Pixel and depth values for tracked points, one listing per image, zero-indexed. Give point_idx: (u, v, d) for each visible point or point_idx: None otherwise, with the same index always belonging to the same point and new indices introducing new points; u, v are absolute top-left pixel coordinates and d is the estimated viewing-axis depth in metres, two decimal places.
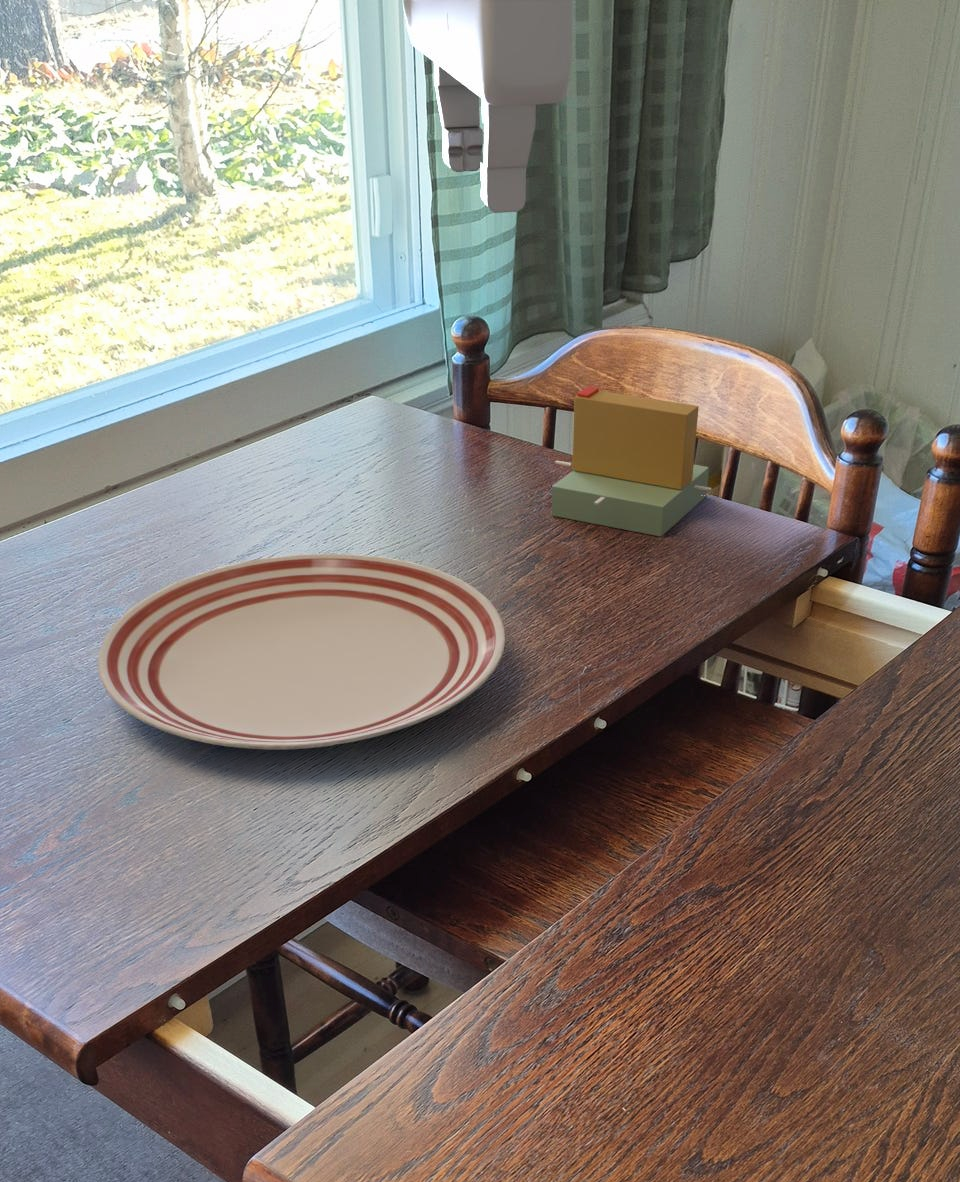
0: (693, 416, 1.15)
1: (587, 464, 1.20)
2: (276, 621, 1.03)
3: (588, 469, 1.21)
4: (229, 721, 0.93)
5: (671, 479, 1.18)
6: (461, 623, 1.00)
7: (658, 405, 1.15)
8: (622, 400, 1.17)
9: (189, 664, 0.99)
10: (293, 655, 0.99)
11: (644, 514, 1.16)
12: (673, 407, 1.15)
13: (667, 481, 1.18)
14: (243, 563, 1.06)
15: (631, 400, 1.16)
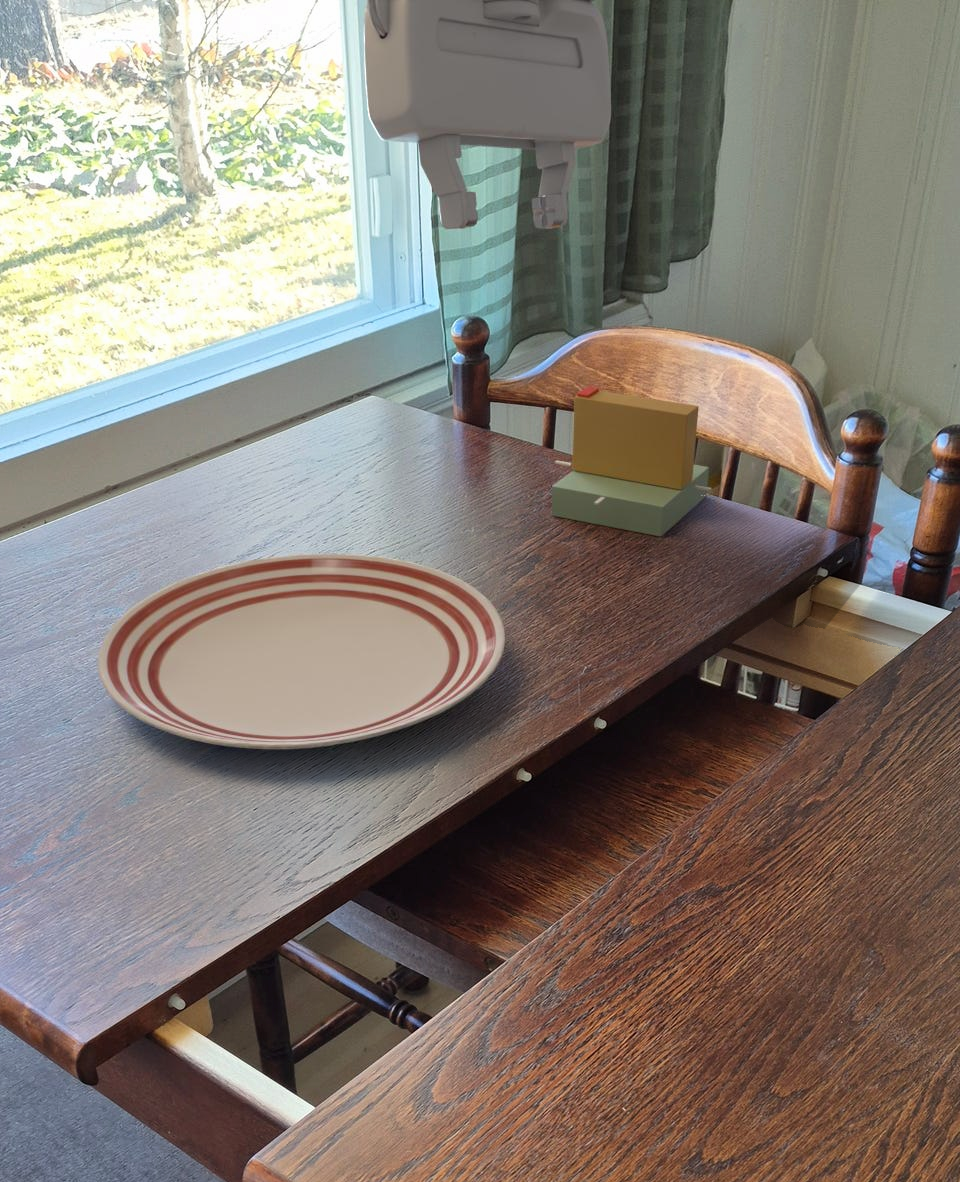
0: (693, 416, 1.15)
1: (587, 464, 1.20)
2: (276, 621, 1.03)
3: (588, 469, 1.21)
4: (229, 721, 0.93)
5: (671, 479, 1.18)
6: (461, 623, 1.00)
7: (658, 405, 1.15)
8: (622, 400, 1.17)
9: (189, 664, 0.98)
10: (293, 655, 0.99)
11: (644, 514, 1.16)
12: (673, 407, 1.15)
13: (667, 481, 1.18)
14: (243, 563, 1.06)
15: (631, 400, 1.16)
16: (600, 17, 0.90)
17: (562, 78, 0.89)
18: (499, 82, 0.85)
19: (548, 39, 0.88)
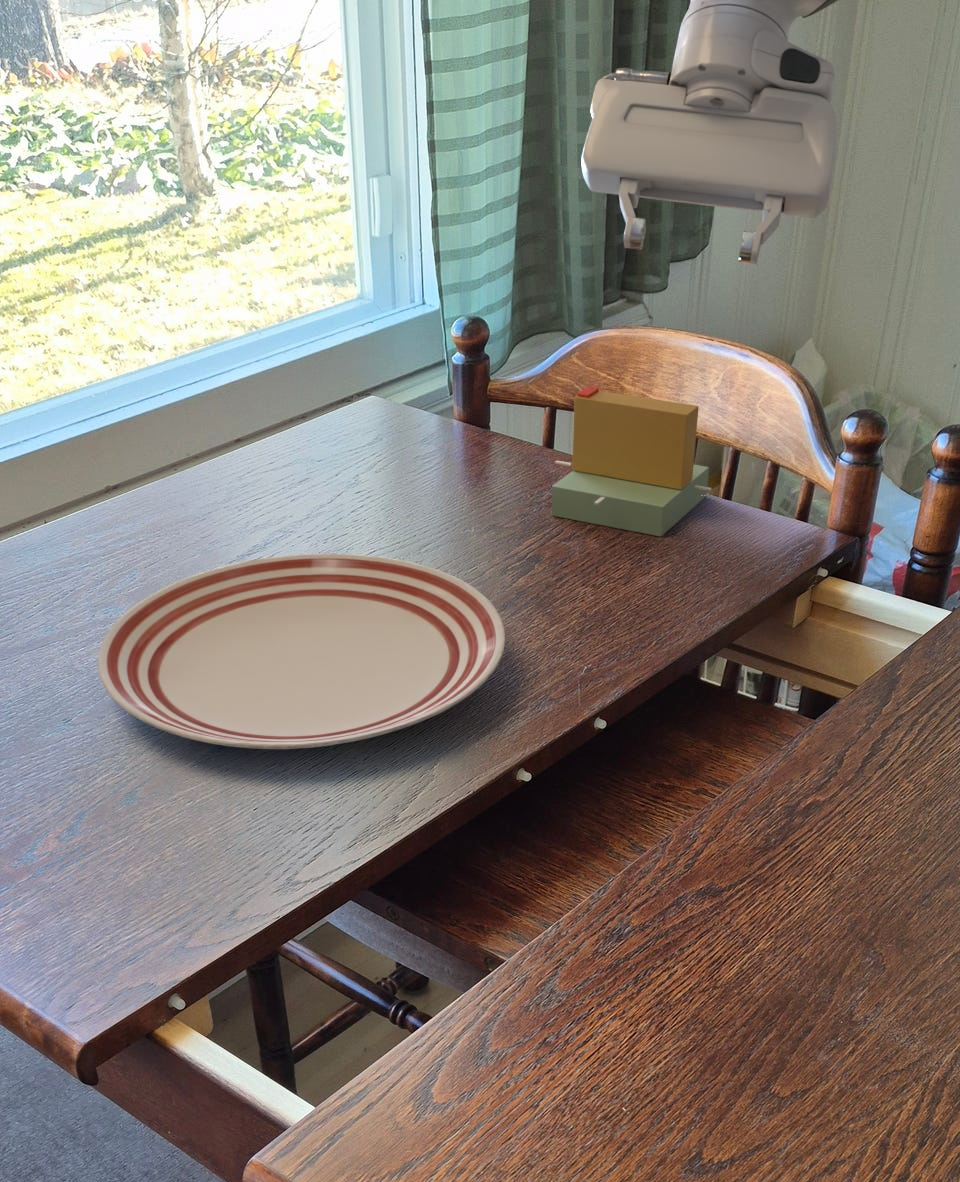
0: (693, 416, 1.15)
1: (587, 464, 1.20)
2: (276, 621, 1.03)
3: (588, 469, 1.21)
4: (229, 721, 0.93)
5: (671, 479, 1.18)
6: (461, 623, 1.00)
7: (658, 405, 1.15)
8: (622, 400, 1.17)
9: (189, 664, 0.98)
10: (293, 655, 0.99)
11: (644, 514, 1.16)
12: (673, 407, 1.15)
13: (667, 481, 1.18)
14: (243, 563, 1.06)
15: (631, 400, 1.16)
16: (825, 104, 1.12)
17: (770, 147, 1.13)
18: (685, 145, 1.14)
19: (765, 122, 1.13)
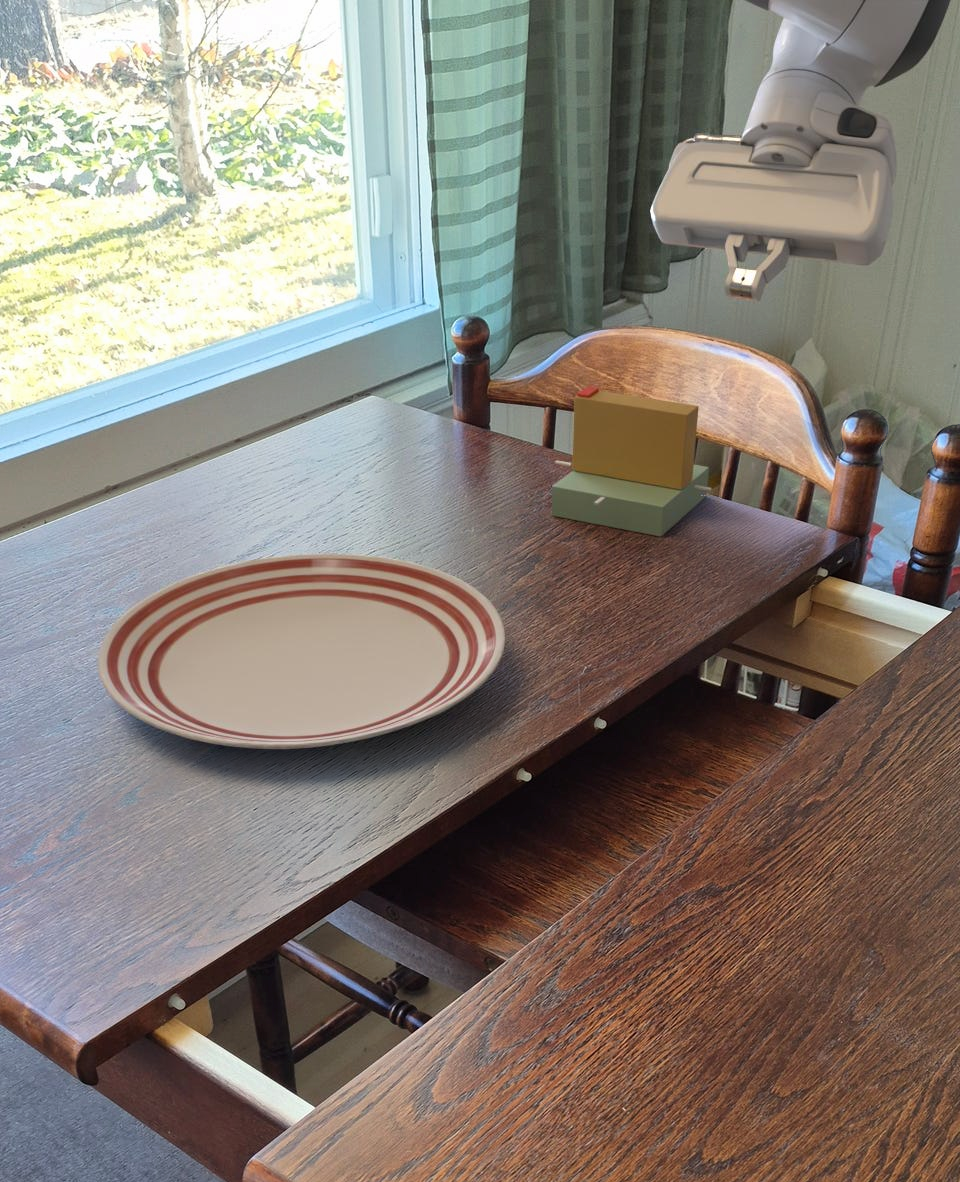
0: (693, 416, 1.15)
1: (587, 464, 1.20)
2: (276, 621, 1.03)
3: (588, 469, 1.21)
4: (229, 720, 0.93)
5: (671, 479, 1.18)
6: (461, 623, 1.00)
7: (658, 405, 1.15)
8: (622, 400, 1.17)
9: (189, 664, 0.98)
10: (293, 655, 0.99)
11: (644, 514, 1.16)
12: (673, 407, 1.15)
13: (667, 481, 1.18)
14: (243, 563, 1.06)
15: (631, 400, 1.16)
16: (879, 157, 1.16)
17: (823, 198, 1.18)
18: (745, 197, 1.20)
19: (822, 176, 1.18)
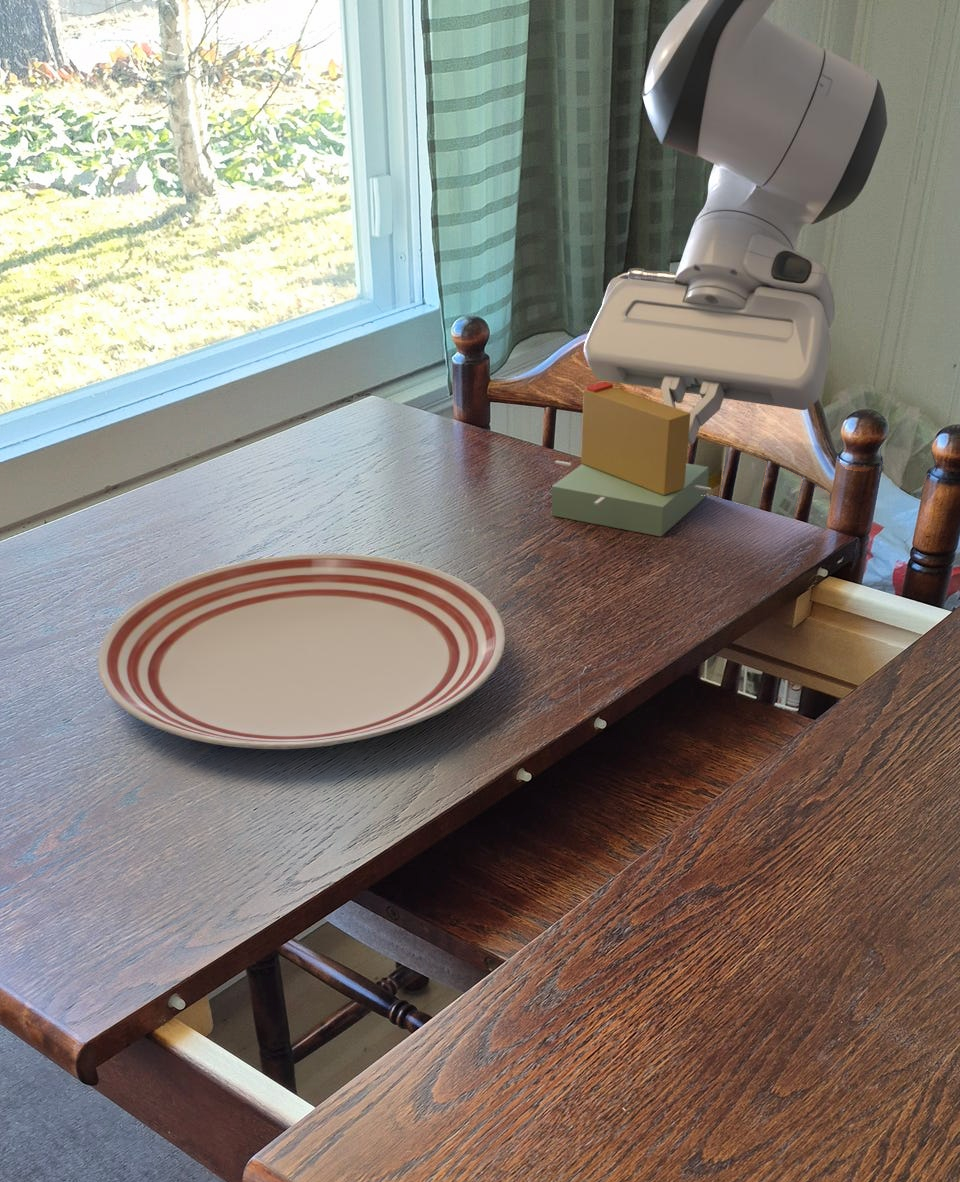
0: (681, 422, 1.14)
1: (592, 458, 1.21)
2: (276, 621, 1.03)
3: (593, 463, 1.21)
4: (229, 720, 0.93)
5: (656, 483, 1.17)
6: (461, 623, 1.00)
7: (651, 408, 1.15)
8: (624, 398, 1.17)
9: (189, 664, 0.98)
10: (293, 655, 0.99)
11: (644, 514, 1.16)
12: (664, 411, 1.14)
13: (653, 485, 1.17)
14: (243, 563, 1.06)
15: (633, 399, 1.17)
16: (815, 303, 1.12)
17: (758, 342, 1.14)
18: (679, 339, 1.17)
19: (757, 319, 1.15)
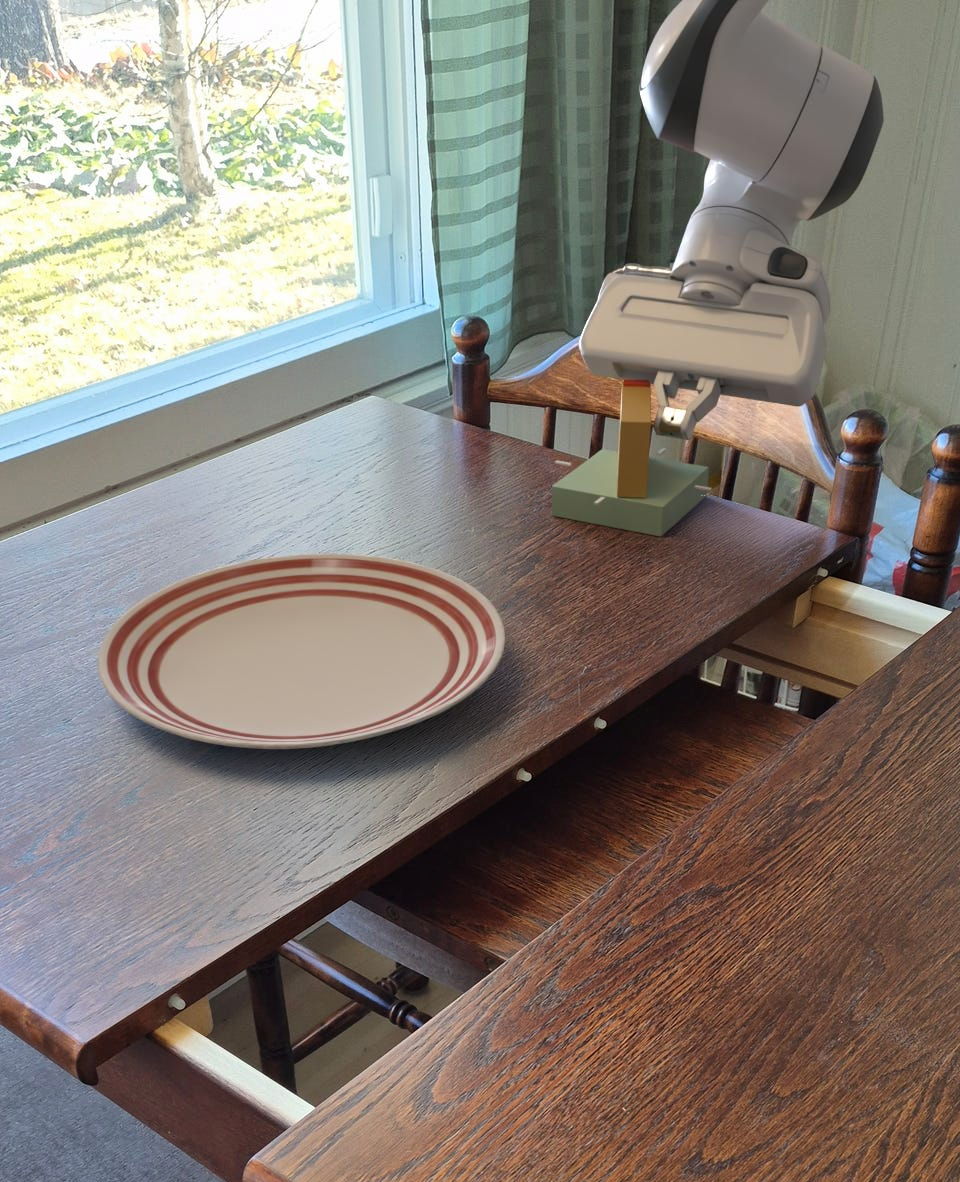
0: (637, 428, 1.13)
1: None
2: (276, 620, 1.03)
3: None
4: (229, 720, 0.93)
5: None
6: (461, 623, 1.00)
7: (632, 409, 1.15)
8: (632, 396, 1.17)
9: (189, 664, 0.98)
10: (293, 655, 0.99)
11: (644, 514, 1.16)
12: (634, 414, 1.14)
13: None
14: (243, 563, 1.06)
15: (636, 399, 1.17)
16: (810, 299, 1.12)
17: (754, 338, 1.14)
18: (675, 335, 1.17)
19: (753, 315, 1.15)
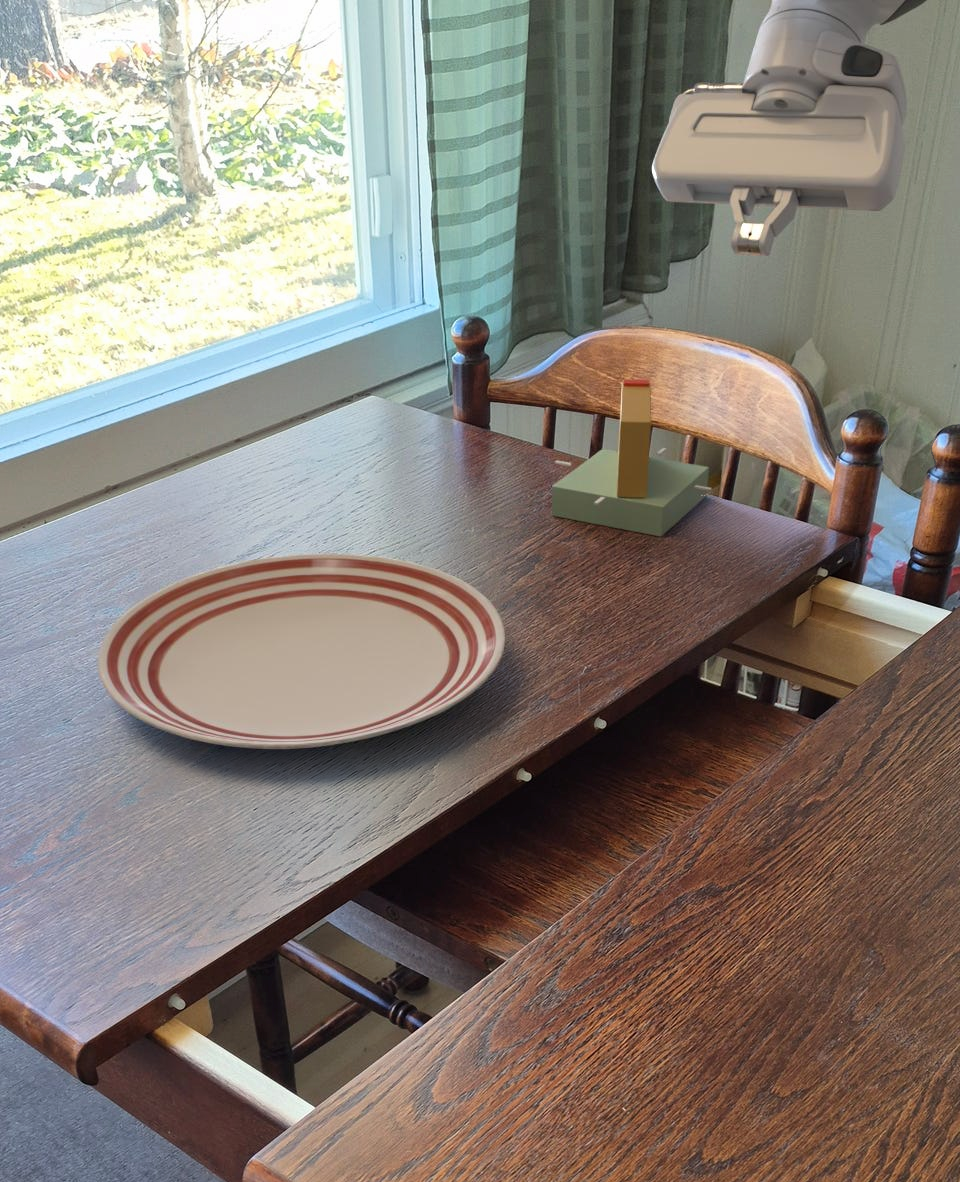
0: (637, 428, 1.13)
1: None
2: (276, 621, 1.03)
3: None
4: (229, 720, 0.93)
5: None
6: (461, 623, 1.00)
7: (632, 409, 1.15)
8: (632, 396, 1.17)
9: (189, 664, 0.98)
10: (293, 655, 0.99)
11: (644, 514, 1.16)
12: (634, 414, 1.14)
13: None
14: (243, 563, 1.06)
15: (636, 399, 1.17)
16: (887, 96, 1.11)
17: (830, 143, 1.13)
18: (749, 148, 1.16)
19: (828, 120, 1.14)
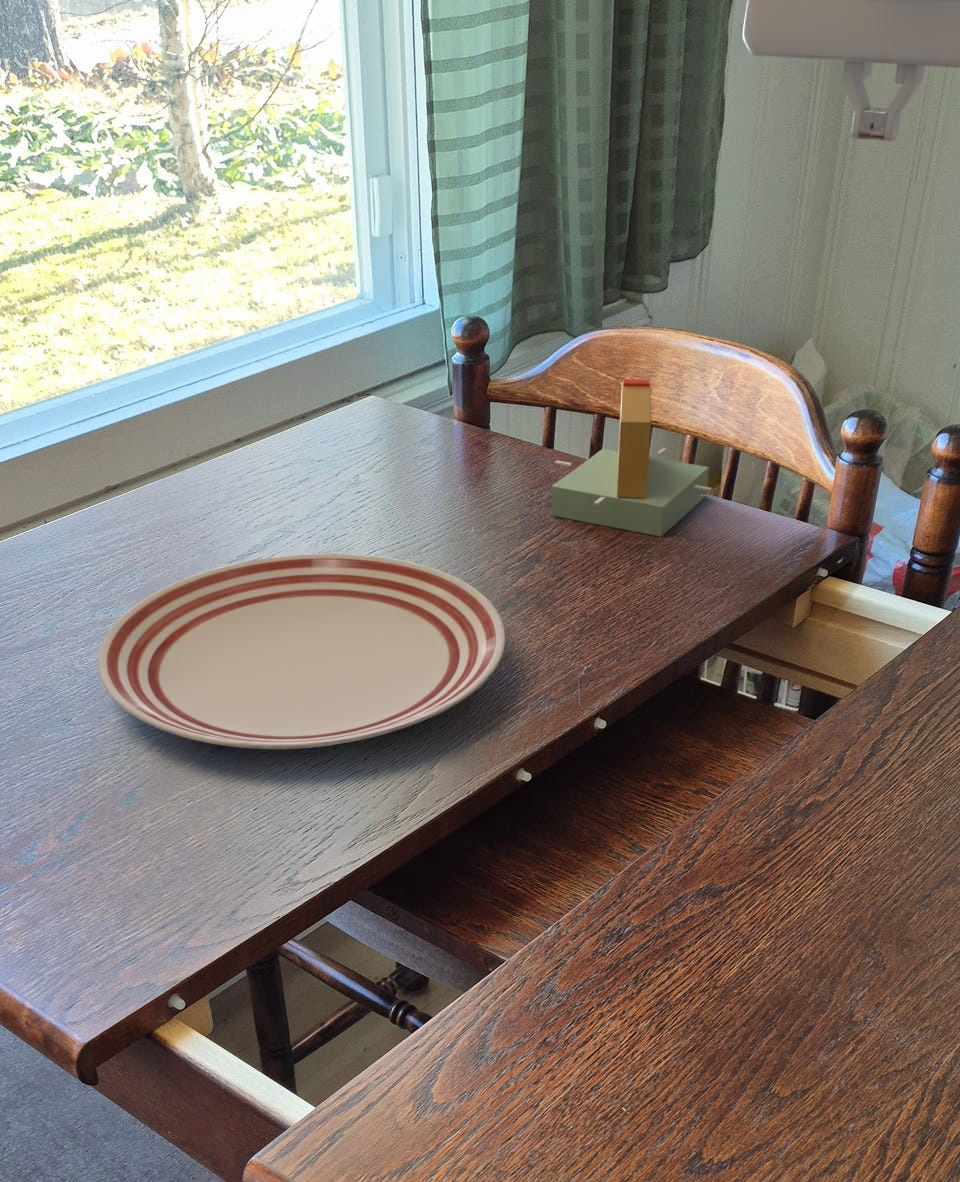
0: (637, 428, 1.13)
1: None
2: (276, 621, 1.03)
3: None
4: (229, 721, 0.93)
5: None
6: (461, 623, 1.00)
7: (632, 409, 1.15)
8: (632, 396, 1.17)
9: (189, 664, 0.98)
10: (293, 655, 0.99)
11: (644, 514, 1.16)
12: (634, 414, 1.14)
13: None
14: (243, 563, 1.06)
15: (636, 399, 1.17)
16: None
17: (957, 8, 0.94)
18: (857, 15, 0.97)
19: None
